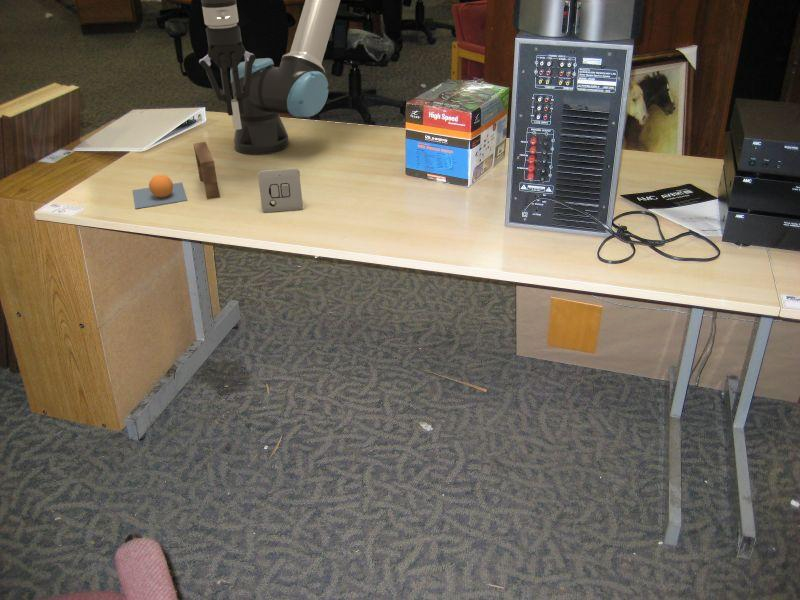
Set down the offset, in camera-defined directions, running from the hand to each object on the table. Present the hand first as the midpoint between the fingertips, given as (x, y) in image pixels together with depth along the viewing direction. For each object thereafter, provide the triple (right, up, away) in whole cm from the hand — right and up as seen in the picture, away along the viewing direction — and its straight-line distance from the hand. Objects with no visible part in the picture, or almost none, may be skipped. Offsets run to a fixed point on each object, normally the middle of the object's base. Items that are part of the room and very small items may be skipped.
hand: (237, 127), depth 179 cm
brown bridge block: (-8, -14, +5) cm, 17 cm away
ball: (-18, -14, -1) cm, 23 cm away
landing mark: (-19, -16, +1) cm, 25 cm away
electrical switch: (+12, -20, -7) cm, 24 cm away
